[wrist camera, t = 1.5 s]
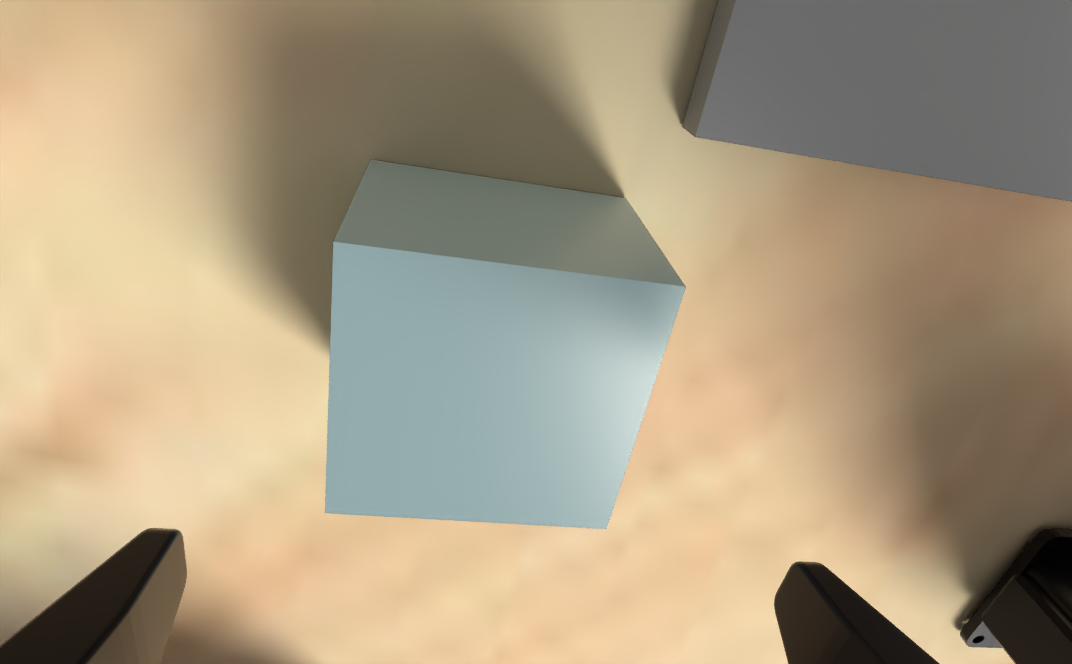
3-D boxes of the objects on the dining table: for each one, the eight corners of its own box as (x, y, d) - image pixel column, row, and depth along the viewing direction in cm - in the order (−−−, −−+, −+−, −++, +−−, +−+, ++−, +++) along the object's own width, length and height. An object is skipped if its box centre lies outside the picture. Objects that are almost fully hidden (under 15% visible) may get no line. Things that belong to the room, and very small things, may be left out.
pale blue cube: (625, 198, 16) (685, 286, 12) (573, 399, 19) (606, 528, 15) (370, 159, 15) (333, 241, 11) (358, 379, 18) (325, 512, 14)
